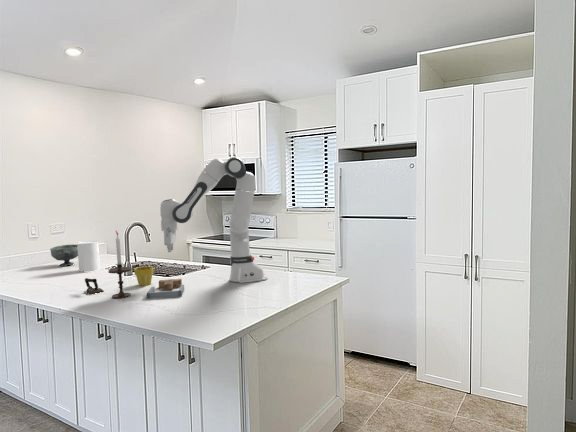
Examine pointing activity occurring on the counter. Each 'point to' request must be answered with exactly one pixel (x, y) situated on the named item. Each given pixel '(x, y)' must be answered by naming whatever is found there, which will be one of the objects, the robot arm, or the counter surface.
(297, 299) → the counter surface
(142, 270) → the plant pot
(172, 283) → the t block
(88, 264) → the canister
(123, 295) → the candlestick
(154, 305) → the counter surface
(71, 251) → the bowl
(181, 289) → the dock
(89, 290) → the clothes iron
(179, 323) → the counter surface
